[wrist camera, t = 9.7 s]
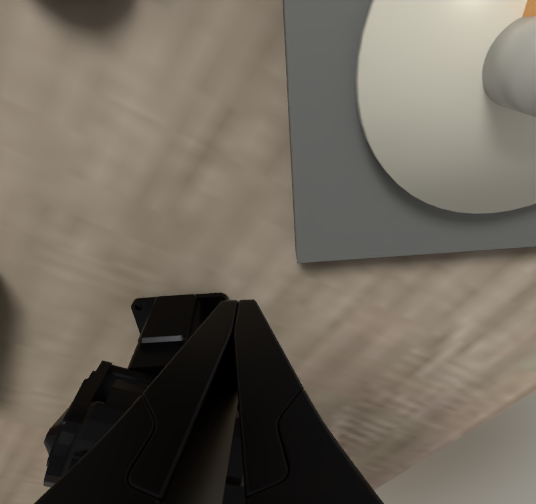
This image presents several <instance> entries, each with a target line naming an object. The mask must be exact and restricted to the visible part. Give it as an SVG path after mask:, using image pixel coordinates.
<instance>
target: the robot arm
mask: <svg viewBox="0 0 536 504" xmlns="http://www.w3.org/2000/svg"><path fill="white" fill-rule="evenodd" d="M219 299H220V300H222V302H219V301H217V300H219ZM137 305H140V306H142V307H139V306H137ZM131 309H132V312H133V314H134V317H135V320H136V323H137V326H138V329H139V332H140V337H139V339H138V344H137V346H136V349H135V351H134V354H133V356H132V359H131V361H130V363H129V366H128V368H127V369H126V368H122V367H119V366H115V365H112V363H110V362H107V361H103V360H102V362H101V364H100V365H99V367H98V368H97V370H96V371H92V373H91V375H90V376H89V378H88V379H85V380H84V381H83V383H82V385H81V387H80V389H79V391H78V393H77V395H76V396H75V398H74V400H73V402H72V403H71V405H70V406H69V408H68V409H67V410H66V411H65V412H64V413H63V415H62V416H61V417H60V418H59V419H58V420H57V421H56V423H55V424H54V425H53V426H52V427H51V428H50V430H49V431H48V433H47V435H46V438H45V440H44V444H45V447H46V449H47V451H48V454H49V457H48V461H47V467H48V468H47V471H46V474H45V478H44V486H47V487H51V488H50V489H49V490H48V491H47V492H46V493H45V494H44V495H43V496H42V497H41V498H40V499H39V500H37V501H36V502H35V503H34V504H384V503H383V502H382V501H381V500H380V498H379V497H378V495H377V494H376V493H375V491H374V490H373V489H372V487H371V486H370V485H369V483H368V482H367V481H366V479H365V478H364V477H363V475H362V474H361V473H360V471H359V470H358V469H357V467H356V466H355V465H354V463H353V462H352V461H351V459H350V458H349V457H348V455H347V454H346V453H345V451H344V450H343V449H342V447H341V446H340V445H339V443H338V442H337V441H336V439H335V438H334V436H333V435H332V433H331V432H330V430H329V429H328V428H327V426H326V425H325V423H324V422H323V420H322V419H321V417H320V415H319V414H318V412H317V410H316V409H315V407H314V405H313V404H312V402H311V400H310V398H309V396H308V395H307V393H306V391H305V390H304V388H303V386H302V384H301V382H300V380H299V379H298V377H297V375H296V373H295V371H294V369H293V368H292V366H291V364H290V362H289V360H288V359H287V357H286V355H285V353H284V351H283V349H282V348H281V346H280V344H279V342H278V340H277V339H276V337H275V335H274V333H273V331H272V329H271V328H270V326H269V324H268V322H267V320H266V319H265V317H264V315H263V313H262V311H261V310H260V308H259V306H258V304H257V302H256V301H255V300H253V299H252V300H240V301H239V302H238V301H237V300H228V298H227V296H226V295H225V294H223V293H209V294H195V295H193V294H189V295H175V296H160V297H150V298H138V299H135V300H134V301H133V303H132V305H131Z"/></svg>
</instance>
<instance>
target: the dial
mask: <svg viewBox="0 0 536 504" xmlns="http://www.w3.org/2000/svg"><path fill="white" fill-rule="evenodd" d="M355 99H356V105H357V111H358V116H359V121H360V124H361V127H362V130H363V133H364V136H365V139H366V141H367V143H368V145H369V147H370V149H371V151H372V153H373V154H374V156H375V157H376V159H377V160H378V162H379V163H380V164H381V166H382V167H383V168H384V170H385V171H386V172H387V173H388V174H389V175H390V176H391V177H392V178H393V180H394V181H395V182H396V183H397V184H398V185H399V186H401V187H402V188H403V189H404V190H406V191H407V192H408V193H410V194H411V195H413V196H414V197H416V198H418V199H420V200H422V201H423V202H425V203H428V204H430V205H433V206H436V207H438V208H441V209H445V210H450V211H454V212H460V213H472V214H482V213H497V212H504V211H511V210H515V209H519V208H522V207H526V206H530V205H533V204H536V0H371V2H370V4H369V7H368V10H367V13H366V17H365V20H364V23H363V26H362V30H361V34H360V39H359V44H358V49H357V54H356V66H355Z"/></svg>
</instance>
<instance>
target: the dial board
mask: <svg viewBox="0 0 536 504" xmlns="http://www.w3.org/2000/svg"><path fill="white" fill-rule="evenodd" d="M370 2H371V0H283V15H284V34H285V54H286V73H287V92H288V112H289V131H290V150H291V170H292V189H293V209H294V228H295V247H296V257H297V263H308V262H322V261H336V260H351V259H365V258H379V257H393V256H408V255H422V254H436V253H450V252H464V251H479V250H493V249H507V248H521V247H536V204H533V205H530V206H526V207H522V208H519V209H515V210H511V211H504V212H497V213H482V214H472V213H460V212H454V211H450V210H445V209H441V208H438V207H436V206H433V205H430V204H428V203H425V202H423V201H422V200H420V199H418V198H416V197H414V196H413V195H411V194H410V193H408V192H407V191H406V190H404V189H403V188H402V187H401V186H399V185H398V184H397V183H396V182H395V181H394V180H393V178H392V177H391V176H390V175H389V174H388V173H387V172H386V171H385V170H384V168H383V167H382V166H381V164H380V163H379V162H378V160H377V159H376V157H375V156H374V154H373V153H372V151H371V149H370V147H369V145H368V143H367V141H366V139H365V136H364V133H363V130H362V127H361V124H360V121H359V116H358V111H357V105H356V99H355V66H356V54H357V49H358V44H359V39H360V34H361V30H362V26H363V23H364V20H365V17H366V13H367V10H368V7H369V4H370Z"/></svg>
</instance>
